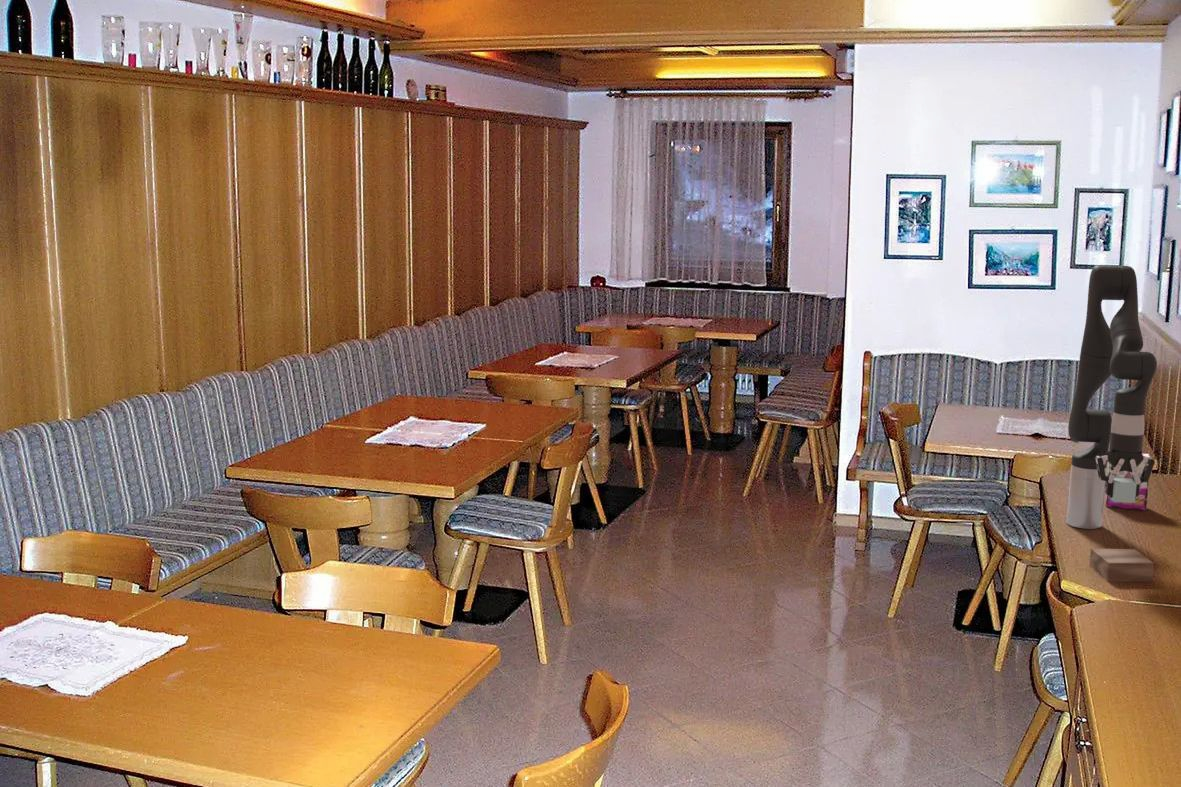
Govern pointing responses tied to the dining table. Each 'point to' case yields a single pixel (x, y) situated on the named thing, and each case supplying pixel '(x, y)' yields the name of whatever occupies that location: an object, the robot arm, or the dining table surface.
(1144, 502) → the candy bar box
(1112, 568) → the walnut block
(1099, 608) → the dining table surface
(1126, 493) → the teal cube
